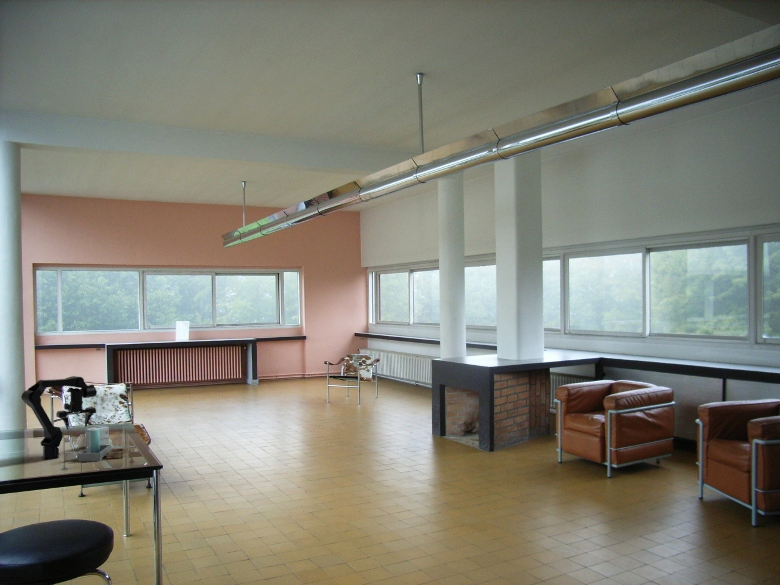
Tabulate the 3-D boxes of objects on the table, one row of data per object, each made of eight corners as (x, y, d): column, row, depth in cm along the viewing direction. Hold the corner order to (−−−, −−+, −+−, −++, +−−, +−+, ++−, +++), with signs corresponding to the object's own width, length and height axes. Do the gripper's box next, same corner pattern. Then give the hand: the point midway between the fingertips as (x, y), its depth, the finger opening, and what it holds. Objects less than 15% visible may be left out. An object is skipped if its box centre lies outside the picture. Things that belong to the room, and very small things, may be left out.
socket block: (106, 458, 326) (106, 452, 326) (111, 454, 334) (111, 448, 334) (122, 457, 327) (122, 452, 327) (127, 453, 335) (127, 448, 335)
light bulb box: (102, 444, 356) (102, 425, 356) (109, 445, 352) (109, 426, 352) (84, 448, 347) (84, 428, 347) (91, 449, 344) (91, 430, 344)
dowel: (92, 456, 326) (92, 431, 326) (89, 455, 329) (89, 430, 329) (101, 455, 329) (101, 430, 329) (98, 453, 332) (98, 429, 332)
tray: (78, 461, 320) (78, 453, 320) (90, 452, 337) (90, 445, 337) (100, 460, 321) (100, 453, 321) (111, 452, 338) (111, 444, 338)
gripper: (89, 395, 351) (89, 423, 351) (53, 399, 338) (53, 428, 338) (96, 398, 343) (96, 426, 343) (59, 402, 330) (59, 431, 330)
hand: (76, 428), depth 339 cm, fingers open, 9 cm apart
